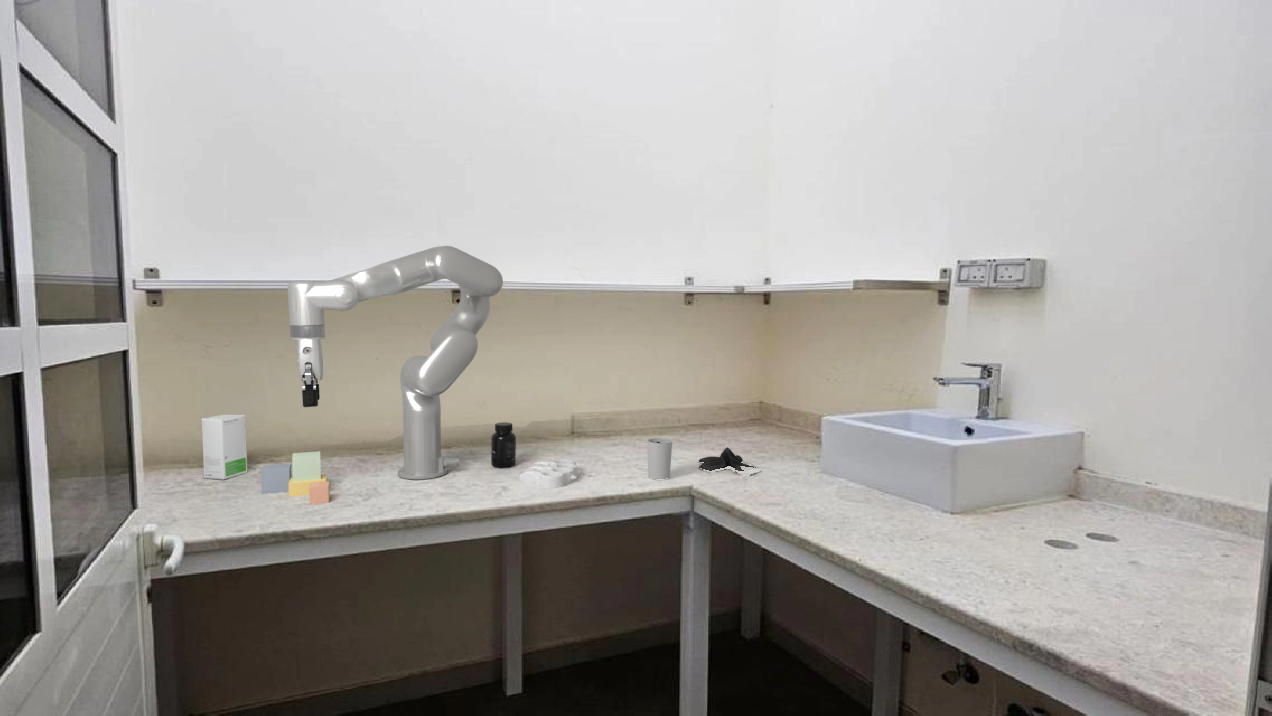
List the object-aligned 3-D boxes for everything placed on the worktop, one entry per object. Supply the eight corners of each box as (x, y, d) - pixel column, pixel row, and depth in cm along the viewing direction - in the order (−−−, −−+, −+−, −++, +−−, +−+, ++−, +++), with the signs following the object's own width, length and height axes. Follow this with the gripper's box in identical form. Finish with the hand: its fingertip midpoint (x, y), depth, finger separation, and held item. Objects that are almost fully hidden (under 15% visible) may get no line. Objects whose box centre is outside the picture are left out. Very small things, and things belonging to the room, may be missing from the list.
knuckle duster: (535, 469, 188) (587, 472, 186) (515, 487, 170) (571, 491, 168) (536, 457, 188) (587, 460, 186) (515, 474, 170) (572, 477, 168)
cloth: (766, 479, 183) (767, 457, 182) (697, 477, 184) (698, 455, 183) (756, 459, 205) (756, 439, 204) (695, 457, 206) (695, 437, 205)
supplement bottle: (486, 467, 188) (486, 424, 187) (500, 461, 195) (500, 420, 193) (507, 469, 186) (507, 427, 185) (520, 464, 192) (520, 422, 191)
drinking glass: (641, 477, 181) (642, 440, 180) (657, 472, 185) (658, 437, 185) (660, 482, 176) (661, 444, 175) (676, 477, 181) (677, 440, 180)
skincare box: (223, 480, 171) (221, 419, 169) (201, 478, 172) (199, 418, 170) (249, 472, 179) (246, 414, 177) (227, 470, 180) (225, 413, 179)
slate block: (292, 487, 166) (291, 463, 165) (290, 492, 162) (289, 467, 162) (264, 489, 164) (263, 465, 163) (261, 494, 160) (260, 469, 159)
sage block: (320, 475, 166) (319, 451, 165) (320, 479, 162) (320, 454, 161) (293, 477, 163) (292, 453, 162) (293, 481, 159) (292, 457, 159)
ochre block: (327, 487, 167) (327, 474, 167) (326, 494, 162) (325, 480, 161) (291, 490, 164) (291, 476, 164) (288, 497, 159) (288, 483, 158)
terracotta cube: (329, 498, 158) (329, 481, 158) (328, 503, 154) (328, 486, 154) (311, 499, 157) (310, 482, 156) (309, 504, 153) (308, 487, 153)
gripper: (323, 334, 154) (327, 408, 156) (326, 330, 170) (329, 396, 172) (287, 335, 152) (291, 410, 153) (292, 330, 167) (296, 398, 169)
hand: (311, 403), depth 163 cm, fingers open, 9 cm apart
